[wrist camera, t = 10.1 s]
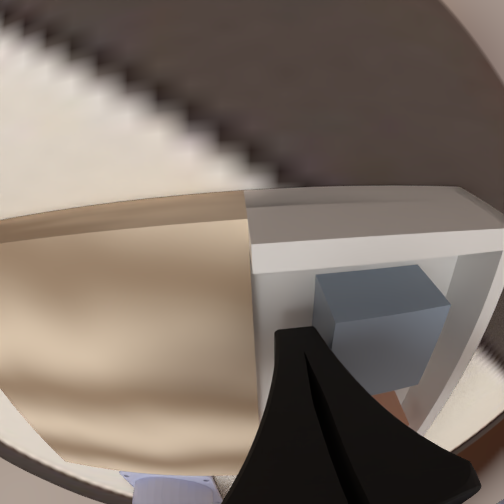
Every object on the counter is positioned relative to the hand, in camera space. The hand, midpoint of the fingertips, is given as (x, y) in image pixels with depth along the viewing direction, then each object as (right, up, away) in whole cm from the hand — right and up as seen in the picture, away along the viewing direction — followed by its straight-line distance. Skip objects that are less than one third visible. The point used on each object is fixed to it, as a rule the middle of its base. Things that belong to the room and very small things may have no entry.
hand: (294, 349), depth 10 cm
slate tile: (+3, +1, +1) cm, 3 cm away
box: (+3, -2, +5) cm, 6 cm away
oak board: (-8, -3, +4) cm, 10 cm away
